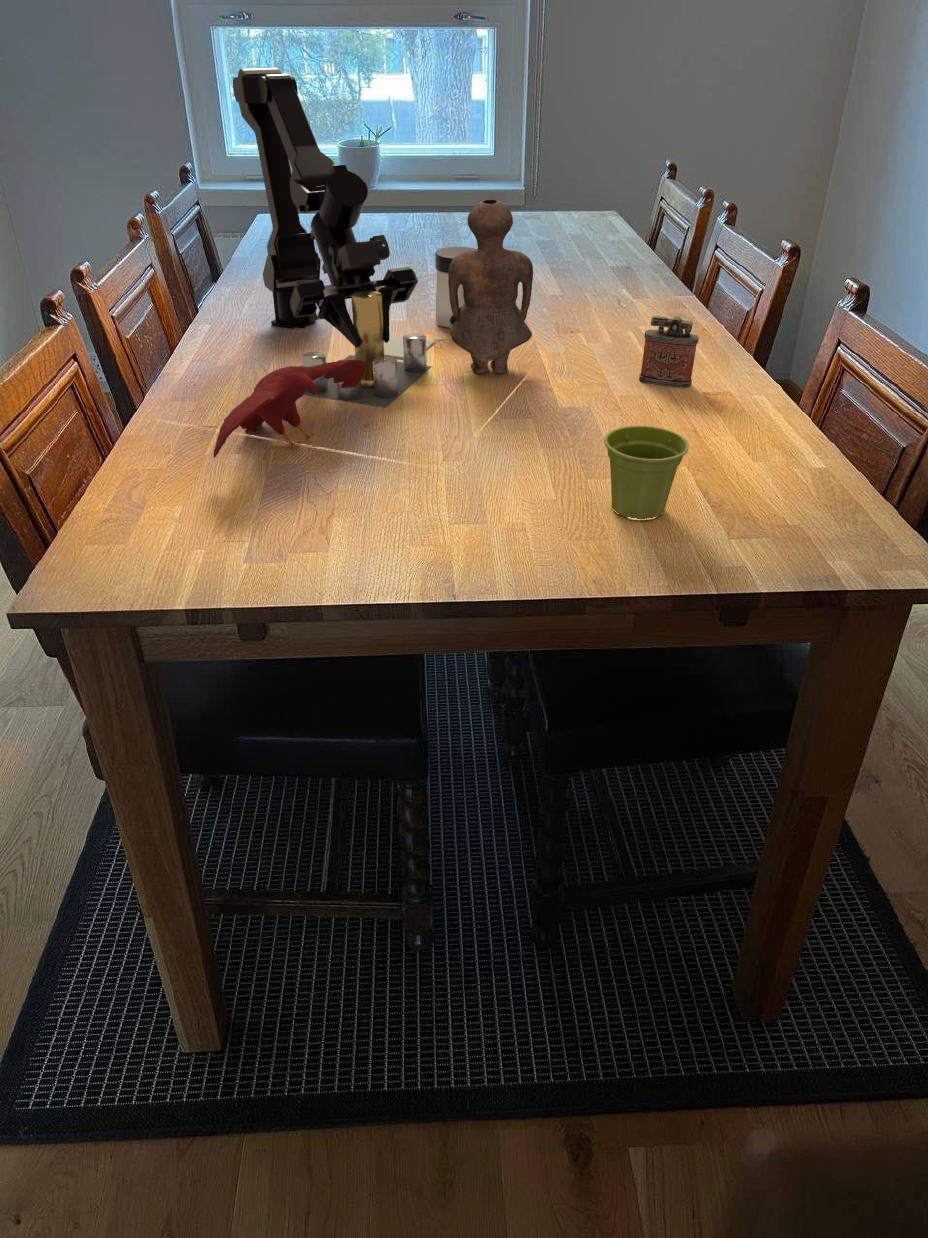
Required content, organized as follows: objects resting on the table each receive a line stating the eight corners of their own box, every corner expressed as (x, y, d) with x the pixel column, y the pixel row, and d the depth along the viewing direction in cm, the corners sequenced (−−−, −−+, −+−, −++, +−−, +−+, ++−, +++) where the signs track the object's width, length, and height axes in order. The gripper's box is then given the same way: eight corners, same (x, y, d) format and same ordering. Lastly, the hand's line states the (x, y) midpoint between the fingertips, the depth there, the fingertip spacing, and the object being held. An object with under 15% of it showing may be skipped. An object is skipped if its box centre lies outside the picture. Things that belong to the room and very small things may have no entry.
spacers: (297, 393, 135) (294, 360, 133) (349, 354, 149) (347, 324, 146) (384, 406, 132) (383, 373, 129) (430, 366, 145) (429, 334, 142)
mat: (297, 395, 136) (297, 393, 135) (349, 356, 149) (349, 354, 149) (386, 409, 132) (386, 407, 131) (431, 368, 145) (431, 366, 145)
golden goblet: (346, 385, 138) (340, 298, 131) (362, 373, 142) (357, 287, 135) (380, 390, 137) (376, 302, 129) (395, 377, 141) (392, 291, 133)
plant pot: (590, 492, 111) (596, 425, 106) (665, 489, 112) (676, 423, 107) (606, 530, 104) (614, 460, 99) (687, 527, 105) (699, 458, 100)
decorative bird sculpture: (206, 509, 116) (256, 447, 105) (159, 450, 115) (204, 382, 104) (344, 432, 136) (398, 373, 125) (305, 382, 135) (356, 318, 124)
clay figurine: (527, 359, 149) (535, 193, 135) (532, 381, 141) (542, 207, 126) (447, 359, 149) (447, 192, 134) (448, 382, 141) (448, 207, 126)
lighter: (692, 382, 142) (703, 317, 136) (689, 389, 139) (700, 323, 133) (640, 375, 144) (649, 311, 138) (636, 382, 141) (645, 317, 135)
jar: (449, 332, 160) (449, 260, 153) (425, 319, 165) (424, 250, 158) (491, 323, 164) (493, 253, 157) (466, 311, 169) (467, 243, 162)
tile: (363, 355, 150) (363, 351, 150) (385, 338, 157) (385, 334, 156) (413, 362, 147) (413, 358, 147) (434, 344, 154) (434, 341, 154)
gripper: (288, 221, 125) (325, 325, 124) (410, 208, 133) (446, 306, 131) (275, 267, 135) (309, 363, 134) (389, 253, 143) (422, 344, 141)
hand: (372, 343), depth 135 cm, fingers closed on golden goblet, 4 cm apart
